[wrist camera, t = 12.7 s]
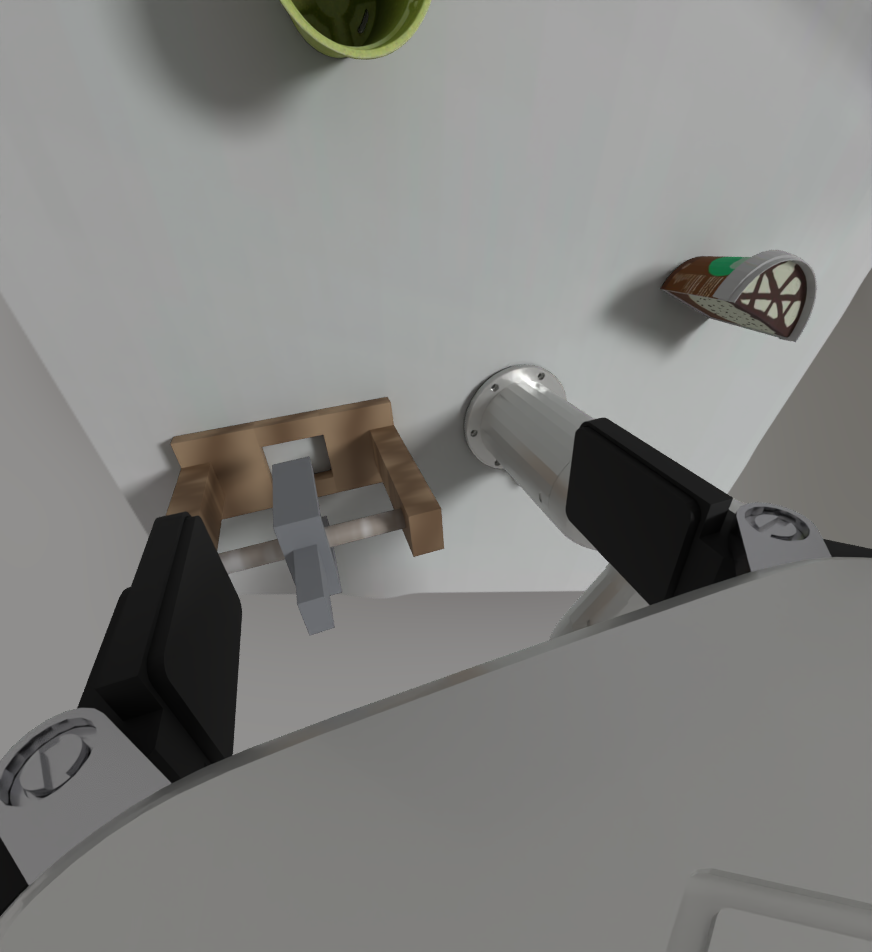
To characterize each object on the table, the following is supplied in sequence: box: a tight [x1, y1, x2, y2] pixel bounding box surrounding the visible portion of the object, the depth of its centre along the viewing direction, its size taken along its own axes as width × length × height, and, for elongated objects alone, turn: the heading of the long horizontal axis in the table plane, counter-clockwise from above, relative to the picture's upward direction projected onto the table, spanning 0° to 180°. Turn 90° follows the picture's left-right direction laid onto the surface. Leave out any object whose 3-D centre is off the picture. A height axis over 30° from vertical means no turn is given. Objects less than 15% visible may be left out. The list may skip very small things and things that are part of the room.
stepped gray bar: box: [272, 457, 342, 635], centre depth 32 cm, size 8×3×14 cm, turn 6°
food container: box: [660, 250, 817, 342], centre depth 44 cm, size 12×6×10 cm, turn 67°
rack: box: [166, 397, 444, 574], centre depth 37 cm, size 20×9×16 cm, turn 94°
